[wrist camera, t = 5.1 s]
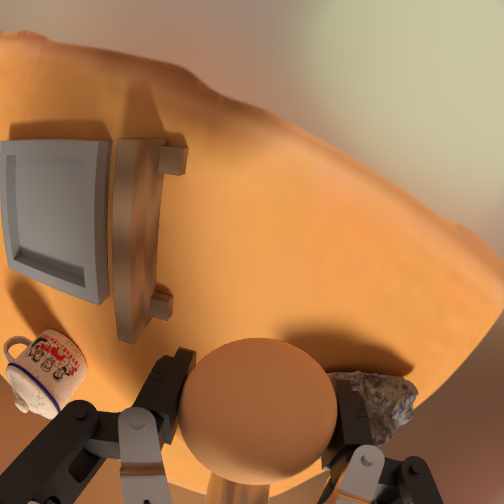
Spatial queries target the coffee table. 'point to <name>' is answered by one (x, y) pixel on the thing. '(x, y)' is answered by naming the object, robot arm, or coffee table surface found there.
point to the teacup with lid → (45, 372)
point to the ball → (257, 411)
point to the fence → (139, 230)
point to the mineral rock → (383, 401)
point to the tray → (57, 212)
